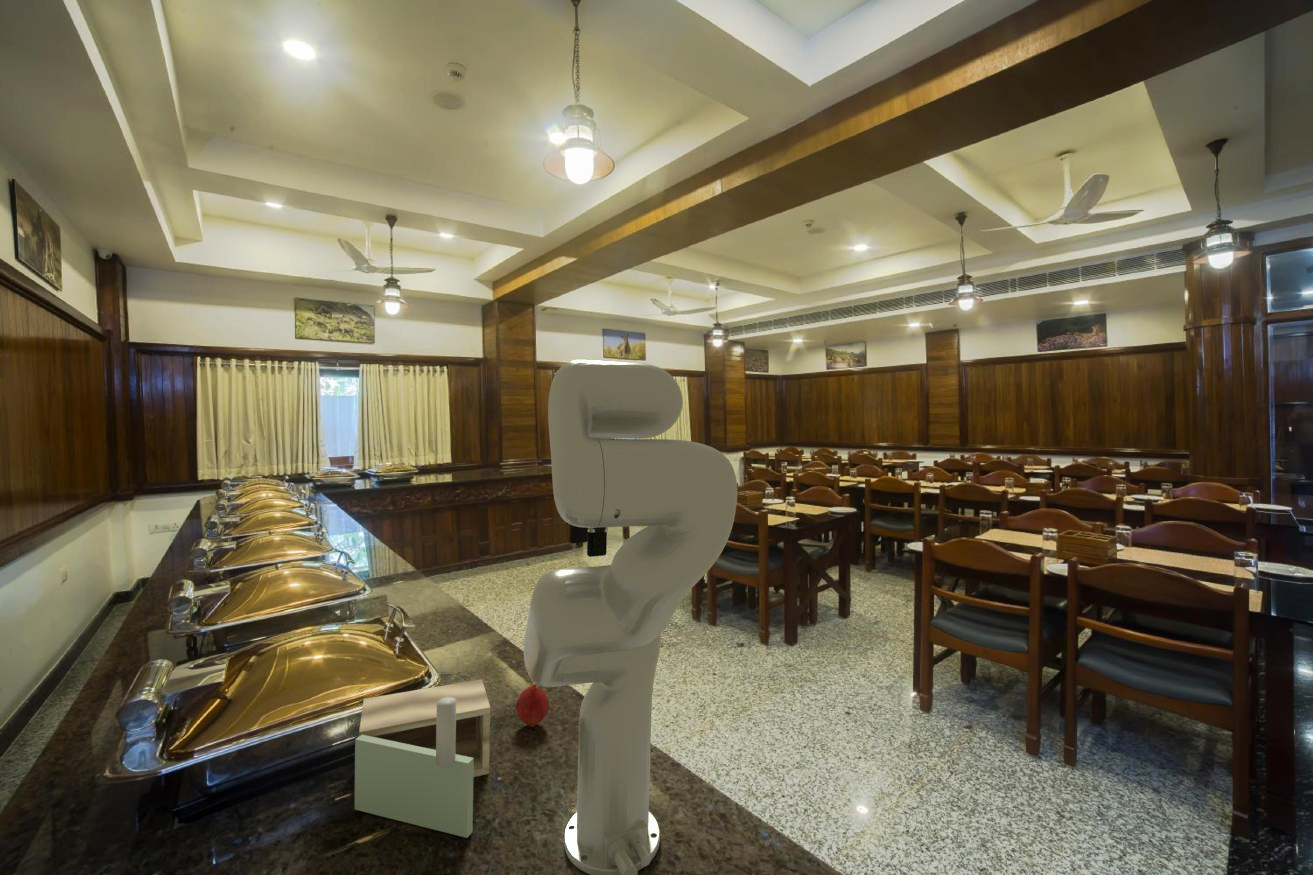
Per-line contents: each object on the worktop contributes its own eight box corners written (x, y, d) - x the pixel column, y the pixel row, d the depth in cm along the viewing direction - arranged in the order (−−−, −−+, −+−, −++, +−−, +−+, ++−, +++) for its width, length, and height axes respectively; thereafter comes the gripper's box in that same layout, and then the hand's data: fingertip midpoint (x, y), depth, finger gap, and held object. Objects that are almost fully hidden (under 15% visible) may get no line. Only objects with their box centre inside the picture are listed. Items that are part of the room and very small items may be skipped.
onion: (508, 729, 98) (509, 685, 98) (530, 714, 103) (531, 672, 103) (534, 738, 95) (535, 693, 95) (555, 722, 100) (556, 679, 100)
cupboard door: (458, 847, 70) (461, 710, 70) (344, 818, 75) (345, 688, 74) (472, 831, 73) (474, 698, 73) (361, 803, 78) (362, 678, 77)
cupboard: (489, 773, 86) (490, 707, 85) (358, 804, 78) (359, 731, 78) (480, 738, 95) (482, 679, 94) (363, 763, 87) (363, 698, 87)
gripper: (629, 453, 88) (626, 559, 88) (593, 446, 103) (591, 536, 104) (584, 454, 84) (581, 563, 85) (554, 446, 100) (552, 539, 101)
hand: (587, 548), depth 94 cm, fingers open, 9 cm apart
